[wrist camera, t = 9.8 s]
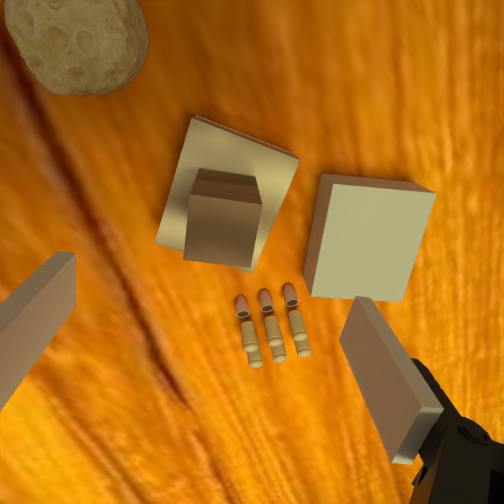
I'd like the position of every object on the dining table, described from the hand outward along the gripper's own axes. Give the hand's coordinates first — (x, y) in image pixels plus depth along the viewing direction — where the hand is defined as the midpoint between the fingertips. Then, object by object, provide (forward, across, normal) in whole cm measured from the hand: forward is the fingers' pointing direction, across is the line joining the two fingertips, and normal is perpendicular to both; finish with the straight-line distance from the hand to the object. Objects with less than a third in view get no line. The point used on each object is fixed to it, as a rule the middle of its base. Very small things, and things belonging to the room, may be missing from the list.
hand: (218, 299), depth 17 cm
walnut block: (+17, 0, 0) cm, 17 cm away
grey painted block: (+22, +15, -2) cm, 27 cm away
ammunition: (+22, +8, -15) cm, 28 cm away
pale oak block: (+22, 0, -1) cm, 22 cm away
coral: (+22, -13, +10) cm, 28 cm away
